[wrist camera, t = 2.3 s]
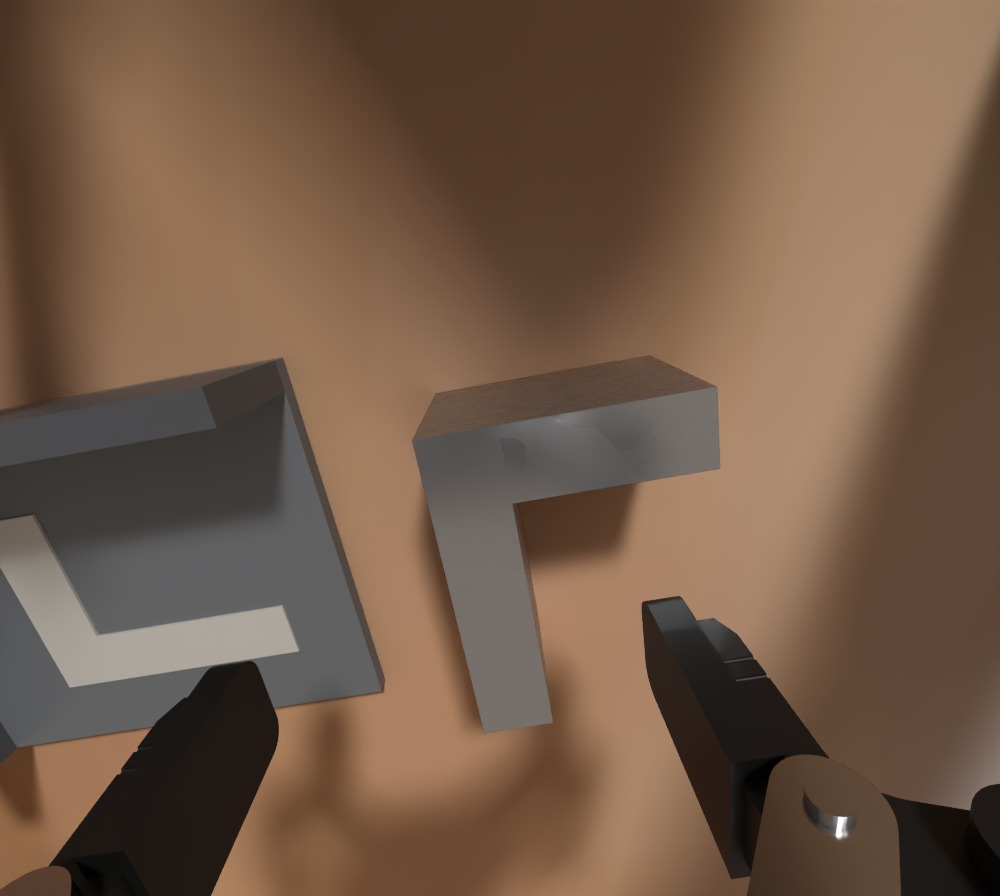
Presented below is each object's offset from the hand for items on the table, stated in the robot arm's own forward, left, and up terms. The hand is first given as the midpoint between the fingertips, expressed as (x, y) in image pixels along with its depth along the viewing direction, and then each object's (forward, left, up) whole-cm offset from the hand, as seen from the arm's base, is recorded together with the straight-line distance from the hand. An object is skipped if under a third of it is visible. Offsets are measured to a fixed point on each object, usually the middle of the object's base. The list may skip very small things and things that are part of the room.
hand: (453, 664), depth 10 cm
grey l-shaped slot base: (+13, 0, -8) cm, 15 cm away
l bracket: (-3, 0, -8) cm, 8 cm away
